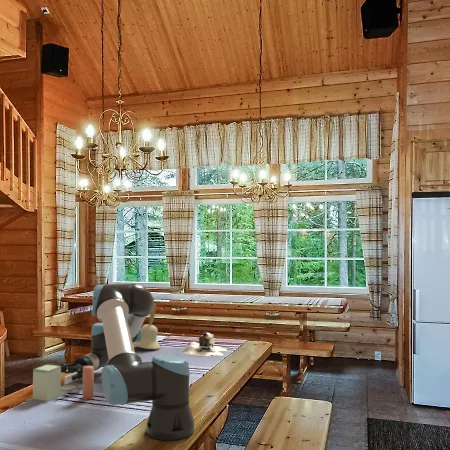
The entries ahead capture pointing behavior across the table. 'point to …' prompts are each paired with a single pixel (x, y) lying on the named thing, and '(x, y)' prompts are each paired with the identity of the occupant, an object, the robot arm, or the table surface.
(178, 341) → the table surface
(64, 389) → the board
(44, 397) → the pale green block
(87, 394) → the peg
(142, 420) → the table surface
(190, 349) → the cabin
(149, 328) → the handbell
